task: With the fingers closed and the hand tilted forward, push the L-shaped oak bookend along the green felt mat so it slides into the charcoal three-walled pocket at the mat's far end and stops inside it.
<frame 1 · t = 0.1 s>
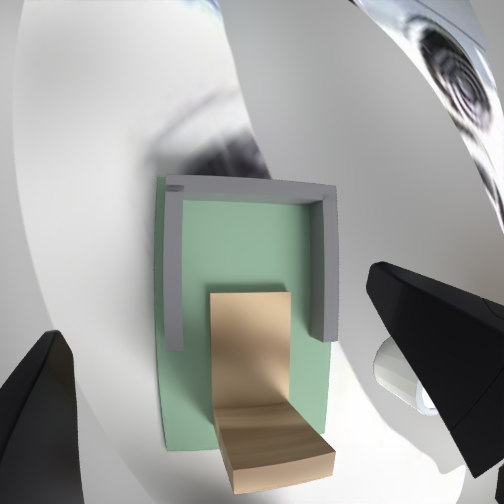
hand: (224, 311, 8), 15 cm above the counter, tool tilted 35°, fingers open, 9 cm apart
mat: (248, 324, 23), on the counter
pocket: (249, 282, 23), resting on mat
white cup: (394, 360, 26), on the counter
bookend: (249, 362, 23), resting on mat
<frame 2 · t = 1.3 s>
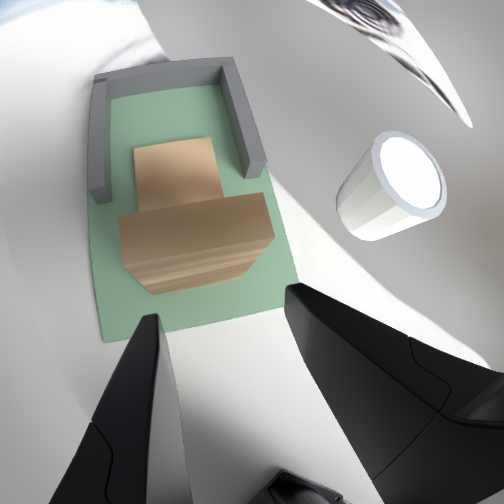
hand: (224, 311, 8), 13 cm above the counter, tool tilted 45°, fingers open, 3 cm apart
mat: (176, 176, 22), on the counter
pocket: (171, 140, 22), resting on mat
white cup: (363, 210, 25), on the counter
bookend: (182, 210, 21), resting on mat
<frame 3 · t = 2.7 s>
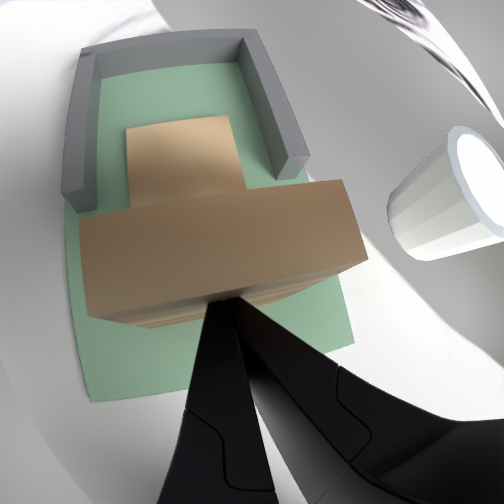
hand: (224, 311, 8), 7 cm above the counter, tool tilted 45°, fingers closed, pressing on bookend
mat: (184, 175, 16), on the counter
pocket: (177, 127, 17), resting on mat
white cup: (416, 222, 19), on the counter
bookend: (190, 211, 16), resting on mat, touching gripper
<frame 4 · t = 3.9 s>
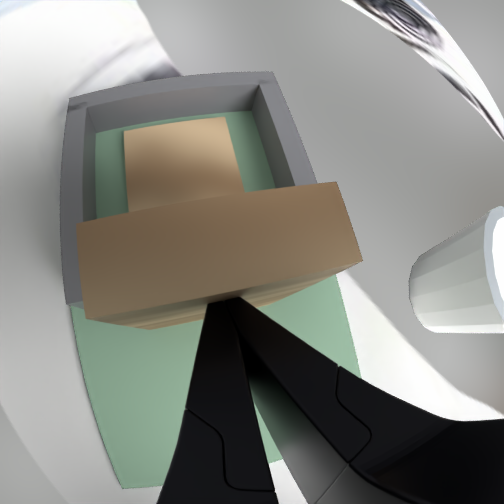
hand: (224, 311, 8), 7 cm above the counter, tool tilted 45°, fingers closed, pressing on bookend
mat: (198, 264, 15), on the counter
pocket: (187, 203, 16), resting on mat
white cup: (436, 291, 18), on the counter
bookend: (188, 212, 16), resting on mat, touching gripper
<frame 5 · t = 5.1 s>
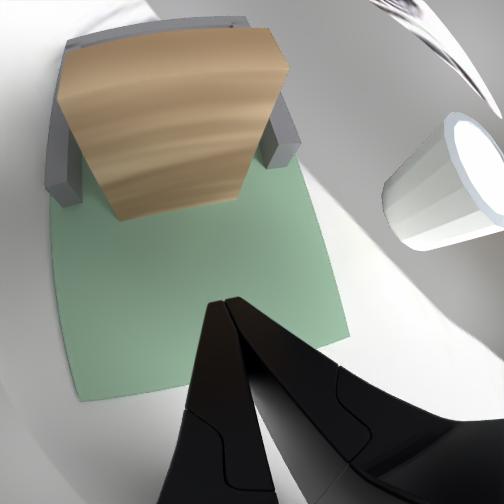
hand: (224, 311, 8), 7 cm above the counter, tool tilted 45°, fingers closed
mat: (171, 165, 16), on the counter
pocket: (164, 117, 16), resting on mat
white cup: (412, 211, 19), on the counter
bookend: (164, 123, 16), resting on mat
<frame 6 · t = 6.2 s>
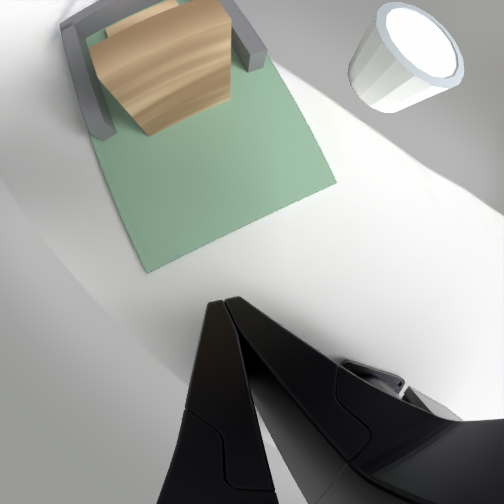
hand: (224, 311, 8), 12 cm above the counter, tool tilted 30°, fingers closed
mat: (176, 88, 19), on the counter
pocket: (160, 55, 18), resting on mat
white cup: (378, 82, 20), on the counter
bookend: (162, 60, 18), resting on mat
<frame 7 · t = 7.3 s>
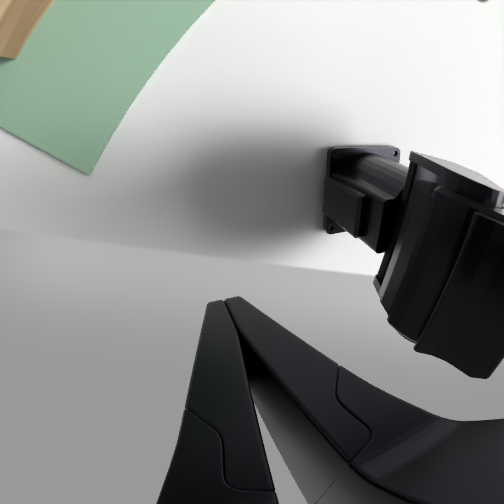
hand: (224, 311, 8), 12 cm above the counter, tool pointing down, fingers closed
mat: (17, 3, 8), on the counter
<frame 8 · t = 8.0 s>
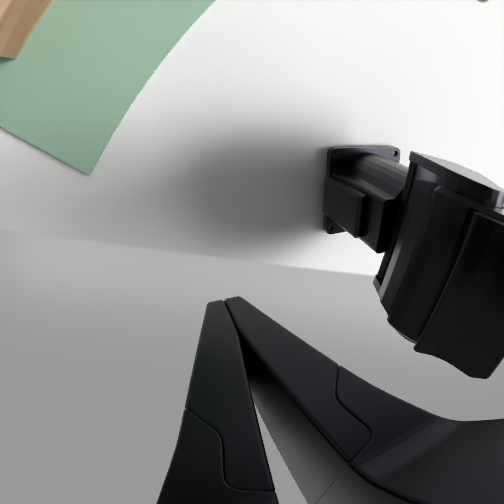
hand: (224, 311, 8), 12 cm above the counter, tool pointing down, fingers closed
mat: (17, 3, 8), on the counter
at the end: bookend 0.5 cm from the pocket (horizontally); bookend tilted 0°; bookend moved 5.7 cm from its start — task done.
